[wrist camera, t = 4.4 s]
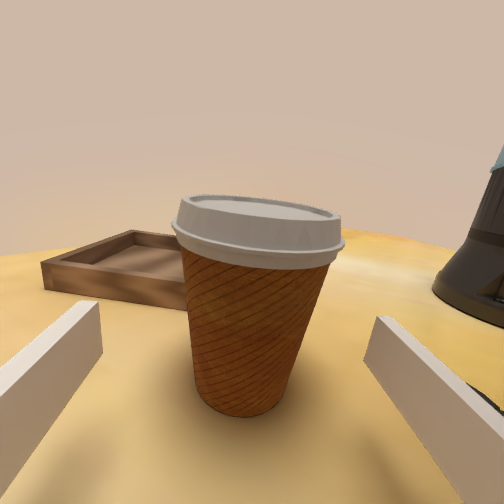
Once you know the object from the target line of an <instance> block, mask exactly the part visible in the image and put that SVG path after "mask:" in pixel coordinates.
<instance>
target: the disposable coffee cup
mask: <svg viewBox="0 0 504 504" xmlns="http://www.w3.org/2000/svg"><path fill="white" fill-rule="evenodd" d="M172 228H173V230H174V231H175V233H176V236H177V240H178V242H179V244H180V245H181V255H182V264H183V273H184V282H185V292H186V301H187V311H188V320H189V329H190V338H191V347H192V356H193V365H194V375H195V382H196V386H197V390H198V392H199V394H200V396H201V397H202V398H203V399H204V400H205V402H206V403H207V404H209V405H210V406H212V407H213V408H214V409H216V410H218V411H220V412H222V413H224V414H228V415H232V416H240V417H247V416H255V415H258V414H261V413H264V412H266V411H268V410H269V409H271V408H272V407H274V406H275V405H276V404H277V403H278V402H279V400H280V399H281V397H282V396H283V393H284V390H285V387H286V384H287V381H288V378H289V375H290V373H291V370H292V367H293V365H294V362H295V359H296V357H297V354H298V351H299V349H300V346H301V343H302V340H303V337H304V334H305V332H306V329H307V326H308V324H309V321H310V318H311V315H312V313H313V310H314V307H315V305H316V302H317V299H318V296H319V294H320V290H321V288H322V285H323V282H324V279H325V277H326V274H327V271H328V268H329V266H330V263H331V262H333V261H334V260H335V259H336V256H337V253H338V252H339V251H341V250H342V249H343V247H344V246H345V240H344V239H343V237H342V236H341V216H340V215H338V214H337V213H335V212H332V211H329V210H325V209H322V208H317V207H313V206H308V205H303V204H297V203H291V202H285V201H278V200H271V199H263V198H254V197H243V196H231V195H209V194H208V195H207V194H203V195H189V196H185V197H183V198H182V199H181V203H180V208H179V212H178V216H177V217H176V218H174V219H173V221H172Z"/></svg>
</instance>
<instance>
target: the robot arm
mask: <svg viewBox="0 0 504 504" xmlns="http://www.w3.org/2000/svg"><path fill="white" fill-rule="evenodd" d="M490 173H492V175H491V178H490V180H489V183H488V185H487V188H486V190H485V193H484V195H483V198H482V200H481V203H480V205H479V208H478V210H477V213H476V215H475V218H474V220H473V223H472V225H471V228H470V231H469V233H468V236H467V238H466V241H465V242H464V244H463V245H462V246H461V248H460V249H459V250H458V251H457V252H456V253H455V254H454V256H453V257H452V258H451V259H450V260H449V262H448V263H447V264H446V265H445V267H444V268H443V269H442V270H441V271H439V272H438V274H437V276H436V278H435V281H434V284H433V286H432V289H433V291H434V292H435V293H436V294H437V295H438V296H439V297H440V298H441V299H443V300H444V301H446V302H447V303H449V304H451V305H453V306H454V307H456V308H458V309H460V310H462V311H464V312H466V313H469V314H471V315H473V316H475V317H478V318H480V319H483V320H485V321H488V322H490V323H493V324H496V325H498V326H501V327H504V146H503V148H502V150H501V152H500V154H499V157H498V159H497V161H496V163H495V165H494V167H492V168H491V170H490ZM102 354H103V347H102V336H101V325H100V314H99V302H98V301H82V300H80V301H78V302H77V303H76V304H75V305H74V306H73V307H71V308H70V309H69V310H68V311H67V312H65V313H64V314H63V315H62V316H61V317H60V318H58V319H57V320H56V321H55V322H54V323H52V324H51V325H50V326H49V327H48V328H47V329H45V330H44V331H43V332H42V333H41V334H39V335H38V336H37V337H36V338H35V339H34V340H32V341H31V342H30V343H29V344H28V345H27V346H25V347H24V348H23V349H22V350H21V351H19V352H18V353H17V354H16V355H15V356H14V357H12V358H11V359H10V360H9V361H8V362H6V363H5V364H4V365H3V366H2V367H1V368H0V498H1V497H2V495H3V494H4V493H5V491H6V490H7V488H8V487H9V486H10V484H11V483H12V481H13V480H14V478H15V477H16V476H17V474H18V473H19V471H20V470H21V469H22V467H23V466H24V464H25V463H26V461H27V460H28V459H29V457H30V456H31V454H32V453H33V452H34V450H35V449H36V447H37V446H38V444H39V443H40V442H41V440H42V439H43V437H44V436H45V435H46V433H47V432H48V430H49V429H50V427H51V426H52V425H53V423H54V422H55V420H56V419H57V418H58V416H59V415H60V413H61V412H62V410H63V409H64V408H65V406H66V405H67V403H68V402H69V401H70V399H71V398H72V396H73V395H74V393H75V392H76V391H77V389H78V388H79V386H80V385H81V384H82V382H83V381H84V379H85V378H86V376H87V375H88V374H89V372H90V371H91V369H92V368H93V367H94V365H95V364H96V362H97V361H98V360H99V358H100V357H101V355H102ZM363 361H364V362H365V364H366V365H367V367H368V368H369V369H370V371H371V372H372V374H373V375H374V376H375V378H376V379H377V381H378V382H379V383H380V385H381V386H382V388H383V389H384V391H385V392H386V393H387V395H388V396H389V398H390V399H391V400H392V402H393V403H394V405H395V406H396V407H397V409H398V410H399V412H400V413H401V415H402V416H403V417H404V419H405V420H406V422H407V423H408V424H409V426H410V427H411V429H412V430H413V431H414V433H415V434H416V436H417V437H418V438H419V440H420V441H421V443H422V444H423V446H424V447H425V448H426V450H427V451H428V453H429V454H430V455H431V457H432V458H433V460H434V461H435V462H436V464H437V465H438V467H439V468H440V470H441V471H442V472H443V474H444V475H445V477H446V478H447V479H448V481H449V482H450V484H451V485H452V486H453V488H454V489H455V491H456V492H457V494H458V495H459V496H460V498H461V499H462V501H463V502H464V503H465V504H504V411H501V410H500V408H499V407H498V406H497V405H496V404H495V403H494V402H493V401H491V400H490V399H489V398H488V397H487V396H486V395H484V394H483V393H481V392H480V391H478V390H477V389H475V388H474V387H472V386H471V385H469V384H468V383H465V382H464V381H463V380H462V379H460V378H459V377H458V376H457V375H456V374H455V373H454V372H453V371H451V370H450V369H449V368H448V367H447V366H446V365H445V364H444V363H442V362H441V361H440V360H439V359H438V358H437V357H436V356H435V355H434V354H432V353H431V352H430V351H429V350H428V349H427V348H426V347H425V346H423V345H422V344H421V343H420V342H419V341H418V340H417V339H416V338H415V337H413V336H412V335H411V334H410V333H409V332H408V331H407V330H406V329H404V328H403V327H402V326H401V325H400V324H399V323H398V322H397V321H395V320H394V319H393V318H392V317H390V316H377V317H376V320H375V324H374V327H373V330H372V334H371V337H370V340H369V344H368V347H367V350H366V354H365V357H364V360H363Z"/></svg>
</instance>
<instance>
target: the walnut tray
mask: <svg viewBox="0 0 504 504" xmlns="http://www.w3.org/2000/svg"><path fill="white" fill-rule="evenodd" d="M40 263H41V269H42V275H43V281H44V288H45V289H47V290H53V291H60V292H67V293H73V294H80V295H87V296H93V297H100V298H106V299H113V300H120V301H126V302H133V303H140V304H146V305H153V306H159V307H166V308H173V309H179V310H186V311H187V301H186V292H185V282H184V273H183V264H182V255H181V245H180V244H179V242H178V240H177V236H175V235H168V234H160V233H153V232H144V231H138V230H129V231H126V232H124V233H121V234H118V235H115V236H112V237H109V238H107V239H104V240H101V241H98V242H96V243H93V244H90V245H87V246H84V247H81V248H78V249H76V250H73V251H70V252H67V253H64V254H62V255H59V256H56V257H53V258H50V259H47V260H45V261H42V262H40Z"/></svg>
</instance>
